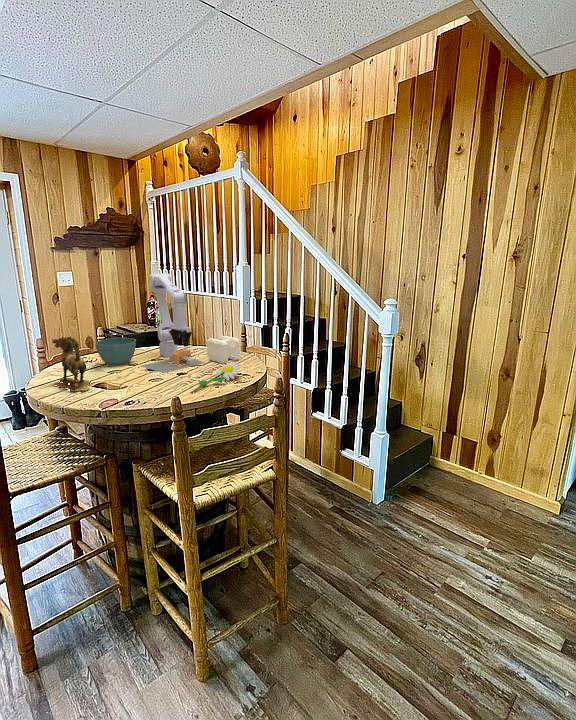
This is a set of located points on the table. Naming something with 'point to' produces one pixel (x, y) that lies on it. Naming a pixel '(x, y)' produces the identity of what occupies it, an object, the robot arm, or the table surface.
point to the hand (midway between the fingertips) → (181, 345)
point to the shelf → (171, 365)
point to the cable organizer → (223, 349)
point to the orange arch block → (180, 355)
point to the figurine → (71, 365)
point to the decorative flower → (222, 374)
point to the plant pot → (116, 350)
